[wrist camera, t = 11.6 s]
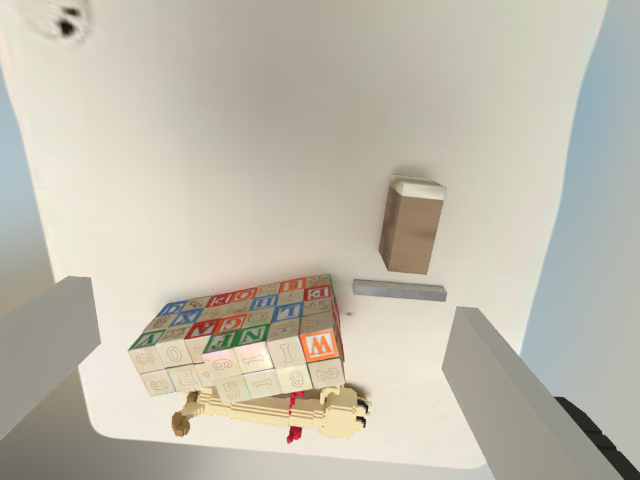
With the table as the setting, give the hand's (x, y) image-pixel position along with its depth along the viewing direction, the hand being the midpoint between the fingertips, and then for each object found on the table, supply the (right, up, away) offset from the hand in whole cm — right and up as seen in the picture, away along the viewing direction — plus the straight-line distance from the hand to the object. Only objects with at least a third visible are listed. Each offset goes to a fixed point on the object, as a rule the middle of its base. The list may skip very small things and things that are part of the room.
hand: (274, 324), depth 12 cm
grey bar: (+11, -3, +29) cm, 31 cm away
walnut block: (+11, +1, +25) cm, 27 cm away
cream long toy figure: (-4, -18, +35) cm, 40 cm away
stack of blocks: (-7, -6, +31) cm, 32 cm away
